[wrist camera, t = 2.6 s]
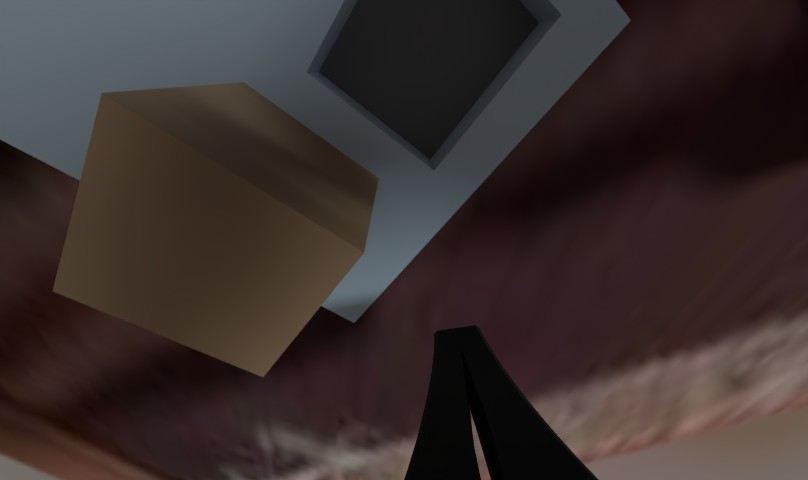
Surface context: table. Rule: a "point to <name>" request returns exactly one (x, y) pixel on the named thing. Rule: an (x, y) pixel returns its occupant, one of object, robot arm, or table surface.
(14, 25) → the board
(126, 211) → the walnut block
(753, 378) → the table surface
